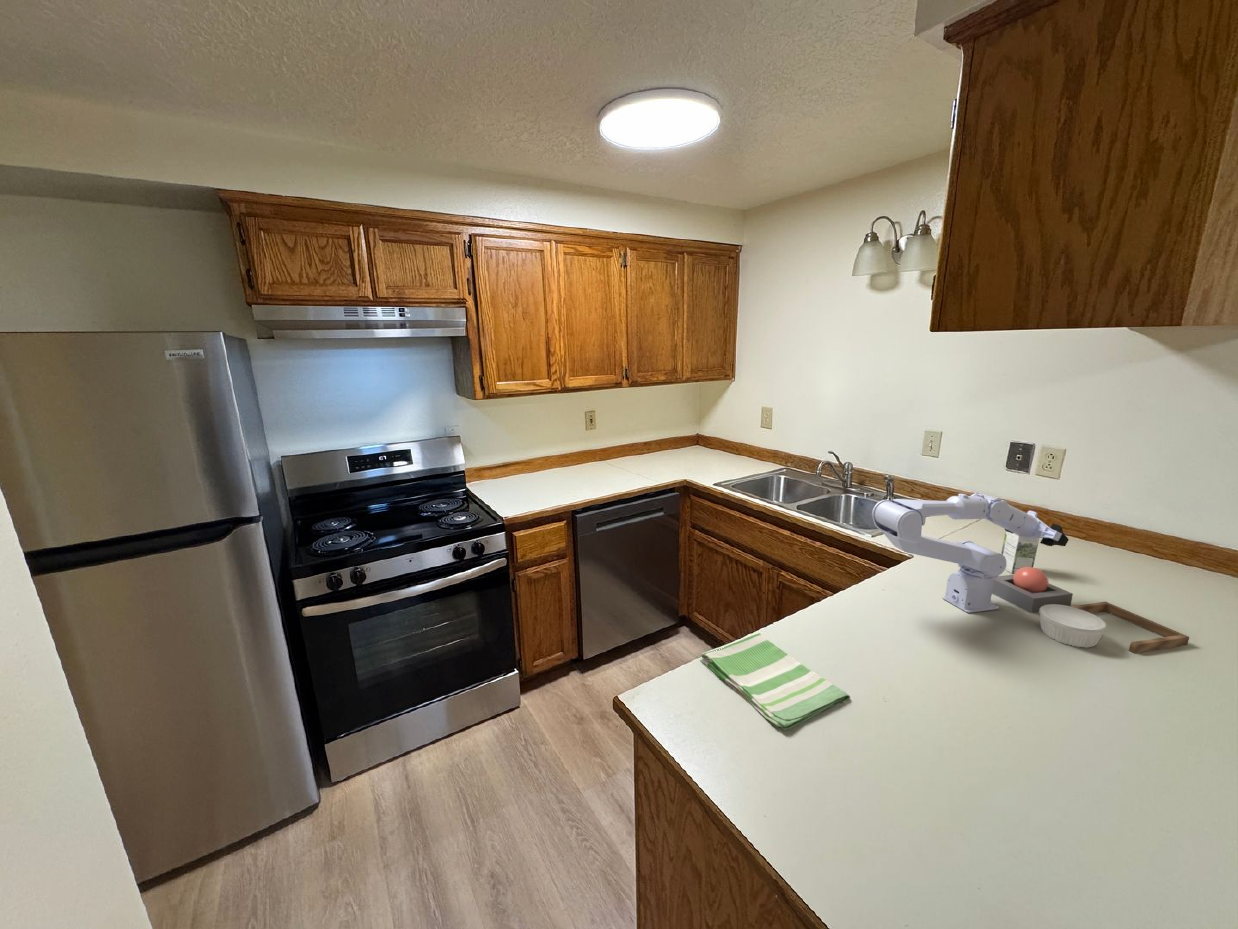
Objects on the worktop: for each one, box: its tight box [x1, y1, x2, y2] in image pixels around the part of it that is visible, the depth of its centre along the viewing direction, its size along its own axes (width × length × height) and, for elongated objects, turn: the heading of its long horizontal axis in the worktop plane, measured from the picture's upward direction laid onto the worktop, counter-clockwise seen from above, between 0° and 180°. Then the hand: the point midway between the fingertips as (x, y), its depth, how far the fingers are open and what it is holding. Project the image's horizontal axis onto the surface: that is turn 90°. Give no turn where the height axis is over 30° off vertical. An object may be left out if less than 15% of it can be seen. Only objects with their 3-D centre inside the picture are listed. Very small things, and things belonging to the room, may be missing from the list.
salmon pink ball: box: [1013, 566, 1049, 593], centre depth 126 cm, size 7×7×7 cm
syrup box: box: [1000, 531, 1040, 575], centre depth 143 cm, size 6×6×14 cm
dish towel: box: [700, 631, 851, 731], centre depth 97 cm, size 18×23×3 cm
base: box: [992, 574, 1074, 614], centre depth 127 cm, size 12×12×4 cm
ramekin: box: [1038, 604, 1107, 649], centre depth 110 cm, size 11×11×5 cm
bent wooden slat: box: [1070, 601, 1190, 654], centre depth 113 cm, size 15×16×2 cm
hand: (1049, 537), depth 125 cm, fingers open, 7 cm apart
